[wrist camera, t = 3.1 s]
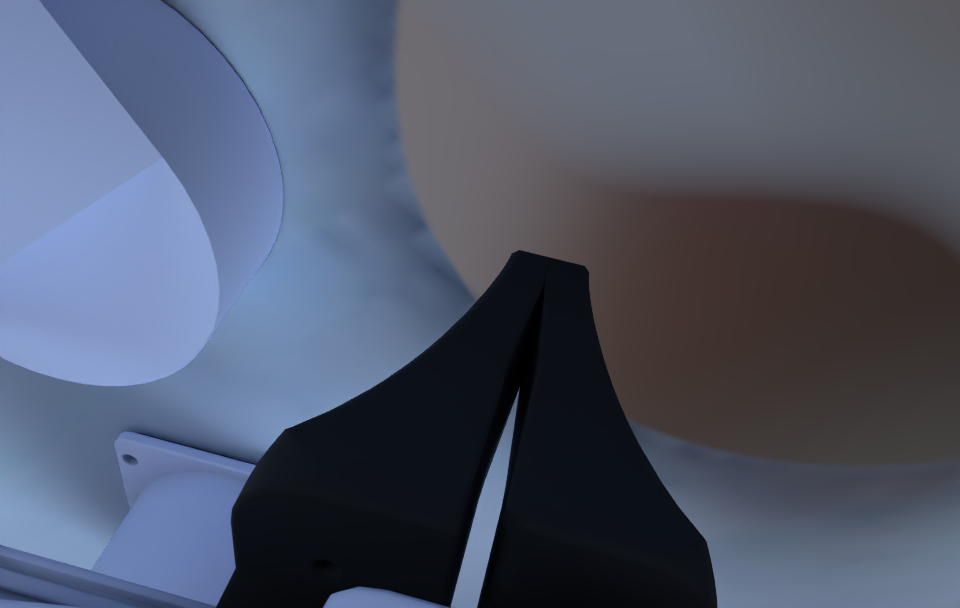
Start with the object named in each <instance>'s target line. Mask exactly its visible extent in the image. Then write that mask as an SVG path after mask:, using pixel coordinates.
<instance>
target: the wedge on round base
mask: <svg viewBox="0 0 960 608" xmlns="http://www.w3.org/2000/svg"><path fill="white" fill-rule="evenodd" d="M283 202H284V201H283V181H282V175H281V170H280V164H279V159H278V155H277V152H276V149H275V146H274V143H273V140H272V137H271V134H270V131H269V129H268V127H267V125H266V123H265V121H264V118H263V116H262V114H261V112H260V110H259V108H258V106H257V104H256V103H255V101H254V99H253V98H252V96H251V94H250V93H249V91H248V90H247V88H246V86H245V85H244V83H243V82H242V80H241V79H240V77H239V76H238V75H237V74H236V72H235V71H234V70H233V68H232V67H231V66H230V65H229V63H228V62H227V61H226V59H225V58H224V57H223V56H222V54H221V53H220V52H219V51H218V50H217V49H216V48H215V47H214V46H213V45H212V44H211V43H210V42H209V41H208V40H207V39H206V38H205V37H204V36H203V34H202V33H201V32H200V31H198V30H197V29H196V28H195V27H194V26H193V25H191V24H190V23H189V22H188V21H187V20H186V19H184V18H183V17H182V16H181V15H180V14H179V13H177V12H176V11H175V10H174V9H172V8H171V7H169V6H168V5H166V4H165V3H164V2H162V1H161V0H0V357H1V358H3V359H5V360H8V361H10V362H12V363H14V364H17V365H19V366H22V367H24V368H27V369H30V370H32V371H35V372H38V373H41V374H44V375H48V376H51V377H54V378H58V379H61V380H66V381H71V382H76V383H81V384H88V385H98V386H130V385H137V384H144V383H149V382H152V381H155V380H159V379H162V378H165V377H167V376H169V375H171V374H173V373H175V372H177V371H179V370H181V369H182V368H183V367H184V366H186V365H187V364H188V363H189V362H191V361H192V360H193V359H194V358H195V357H196V356H197V355H198V354H199V352H200V351H201V350H202V349H203V347H204V346H205V345H206V343H207V342H208V341H209V339H210V338H211V336H212V335H213V333H214V332H215V331H216V329H217V328H218V326H219V325H220V323H221V322H222V321H223V319H224V318H225V316H226V315H227V313H228V312H229V311H230V309H231V308H232V306H233V305H234V303H235V302H236V301H237V299H238V298H239V296H240V295H241V293H242V292H243V290H244V289H245V288H246V286H247V285H248V283H249V282H250V280H251V279H252V278H253V276H254V275H255V273H256V272H257V270H258V269H259V268H260V266H261V265H262V263H263V262H264V260H265V259H266V258H267V256H268V254H269V252H270V250H271V248H272V247H273V245H274V243H275V241H276V238H277V234H278V231H279V228H280V224H281V220H282V211H283Z"/></svg>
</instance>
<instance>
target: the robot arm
mask: <svg viewBox="0 0 960 608" xmlns="http://www.w3.org/2000/svg"><path fill="white" fill-rule="evenodd" d="M519 387H520V390H519ZM518 390H519V397H518V404H517V411H516V418H515V425H514V432H513V439H512V446H511V453H510V460H509V467H508V474H507V481H506V487H505V493H504V498H503V503H502V508H501V512H500V516H499V520H498V524H497V528H496V533H495V537H494V541H493V545H492V549H491V553H490V557H489V561H488V565H487V569H486V573H485V578H484V582H483V586H482V590H481V594H480V598H479V602H478V606H477V608H717V595H716V587H715V580H714V574H713V568H712V563H711V559H710V554H709V550H708V546H707V542H706V540H705V539H704V538H703V536H702V535H701V534H700V533H699V531H698V530H697V529H696V528H695V526H694V525H693V524H692V523H691V522H690V520H689V519H688V518H687V517H686V515H685V514H684V513H683V512H682V510H681V509H680V508H679V507H678V505H677V504H676V503H675V501H674V500H673V498H672V497H671V495H670V494H669V492H668V491H667V489H666V488H665V487H664V485H663V484H662V482H661V481H660V479H659V477H658V475H657V474H656V472H655V470H654V469H653V467H652V465H651V464H650V462H649V460H648V459H647V457H646V455H645V454H644V452H643V450H642V448H641V447H640V445H639V443H638V441H637V439H636V437H635V435H634V433H633V431H632V429H631V427H630V425H629V423H628V421H627V419H626V417H625V414H624V412H623V410H622V408H621V405H620V403H619V401H618V398H617V396H616V393H615V390H614V388H613V385H612V382H611V379H610V376H609V374H608V370H607V368H606V364H605V361H604V358H603V354H602V351H601V347H600V344H599V340H598V335H597V331H596V328H595V323H594V318H593V313H592V307H591V300H590V292H589V272H588V270H587V269H586V267H585V266H582V265H578V264H574V263H570V262H566V261H562V260H558V259H554V258H550V257H545V256H541V255H537V254H533V253H529V252H525V251H521V250H518V251H516V252H514V253H512V254H511V256H510V259H509V260H508V262H507V263H506V265H505V267H504V268H503V270H502V271H501V272H500V274H499V275H498V276H497V278H496V279H495V280H494V282H493V283H492V284H491V285H490V287H489V288H488V289H487V290H486V292H485V293H484V294H483V295H482V296H481V297H480V298H479V299H478V300H477V302H476V303H475V304H474V305H473V306H472V307H471V308H470V309H469V310H468V312H467V313H466V314H465V315H464V316H463V317H462V318H461V319H460V320H458V321H457V322H456V323H455V324H454V325H453V326H452V327H451V328H450V329H449V330H448V331H447V332H446V333H445V334H444V335H443V336H442V337H441V338H439V339H438V340H437V341H436V342H435V343H434V344H433V345H431V346H430V347H429V348H428V349H427V350H425V351H424V352H423V353H422V354H420V355H419V356H418V357H416V358H415V359H414V360H413V361H411V362H410V363H409V364H407V365H406V366H404V367H403V368H401V369H400V370H399V371H397V372H396V373H394V374H393V375H391V376H390V377H388V378H387V379H385V380H384V381H382V382H381V383H379V384H378V385H376V386H374V387H373V388H371V389H369V390H368V391H366V392H364V393H362V394H360V395H358V396H356V397H355V398H353V399H351V400H349V401H347V402H345V403H344V404H342V405H340V406H338V407H336V408H334V409H332V410H330V411H328V412H326V413H324V414H321V415H319V416H317V417H314V418H312V419H309V420H307V421H305V422H302V423H300V424H298V425H295V426H293V427H290V428H288V429H285V430H284V431H283V433H282V434H281V435H280V436H279V437H278V438H277V439H276V441H275V442H274V443H273V444H272V445H271V446H270V448H269V449H268V450H267V452H266V453H265V454H264V455H263V457H262V458H261V460H260V461H259V462H258V464H257V465H253V464H250V463H246V462H242V461H239V460H235V459H231V458H227V457H224V456H220V455H216V454H213V453H209V452H205V451H201V450H198V449H194V448H190V447H186V446H183V445H179V444H175V443H172V442H168V441H164V440H160V439H157V438H153V437H149V436H146V435H142V434H138V433H134V432H129V431H126V432H122V433H121V434H120V435H119V436H118V438H117V439H116V440H115V442H114V446H115V450H116V454H117V459H118V463H119V467H120V471H121V475H122V479H123V483H124V488H125V492H126V496H127V500H128V504H129V508H130V511H129V512H128V514H127V516H126V517H125V519H124V520H123V522H122V523H121V525H120V526H119V528H118V529H117V531H116V532H115V534H114V535H113V537H112V538H111V540H110V542H109V543H108V545H107V546H106V548H105V549H104V551H103V552H102V554H101V555H100V557H99V558H98V560H97V561H96V563H95V565H94V566H93V568H92V569H91V571H90V570H87V569H83V568H80V567H76V566H73V565H69V564H66V563H62V562H59V561H55V560H52V559H48V558H45V557H41V556H38V555H34V554H30V553H27V552H23V551H20V550H16V549H13V548H9V547H6V546H2V545H0V608H450V607H451V603H452V599H453V595H454V591H455V588H456V584H457V580H458V576H459V572H460V569H461V565H462V561H463V557H464V553H465V549H466V546H467V542H468V538H469V534H470V530H471V527H472V523H473V519H474V515H475V512H476V508H477V504H478V500H479V497H480V494H481V491H482V488H483V485H484V482H485V479H486V476H487V473H488V471H489V468H490V465H491V463H492V460H493V457H494V454H495V452H496V449H497V446H498V444H499V441H500V438H501V436H502V433H503V430H504V428H505V425H506V422H507V420H508V417H509V414H510V412H511V409H512V406H513V404H514V401H515V398H516V395H517V393H518Z"/></svg>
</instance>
